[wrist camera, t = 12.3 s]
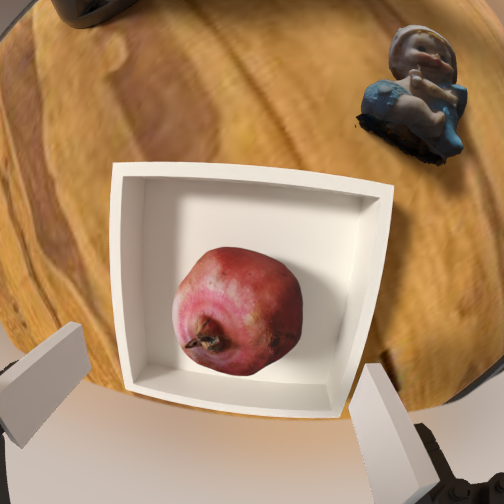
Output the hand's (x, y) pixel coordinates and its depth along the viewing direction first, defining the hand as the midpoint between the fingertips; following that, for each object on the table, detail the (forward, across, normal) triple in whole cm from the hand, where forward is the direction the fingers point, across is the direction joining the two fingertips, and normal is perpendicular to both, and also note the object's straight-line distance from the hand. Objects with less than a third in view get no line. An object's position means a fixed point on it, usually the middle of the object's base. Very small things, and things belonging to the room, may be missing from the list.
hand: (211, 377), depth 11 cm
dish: (+13, 0, -1) cm, 13 cm away
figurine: (+14, +14, +19) cm, 27 cm away
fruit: (+12, 0, -1) cm, 12 cm away
